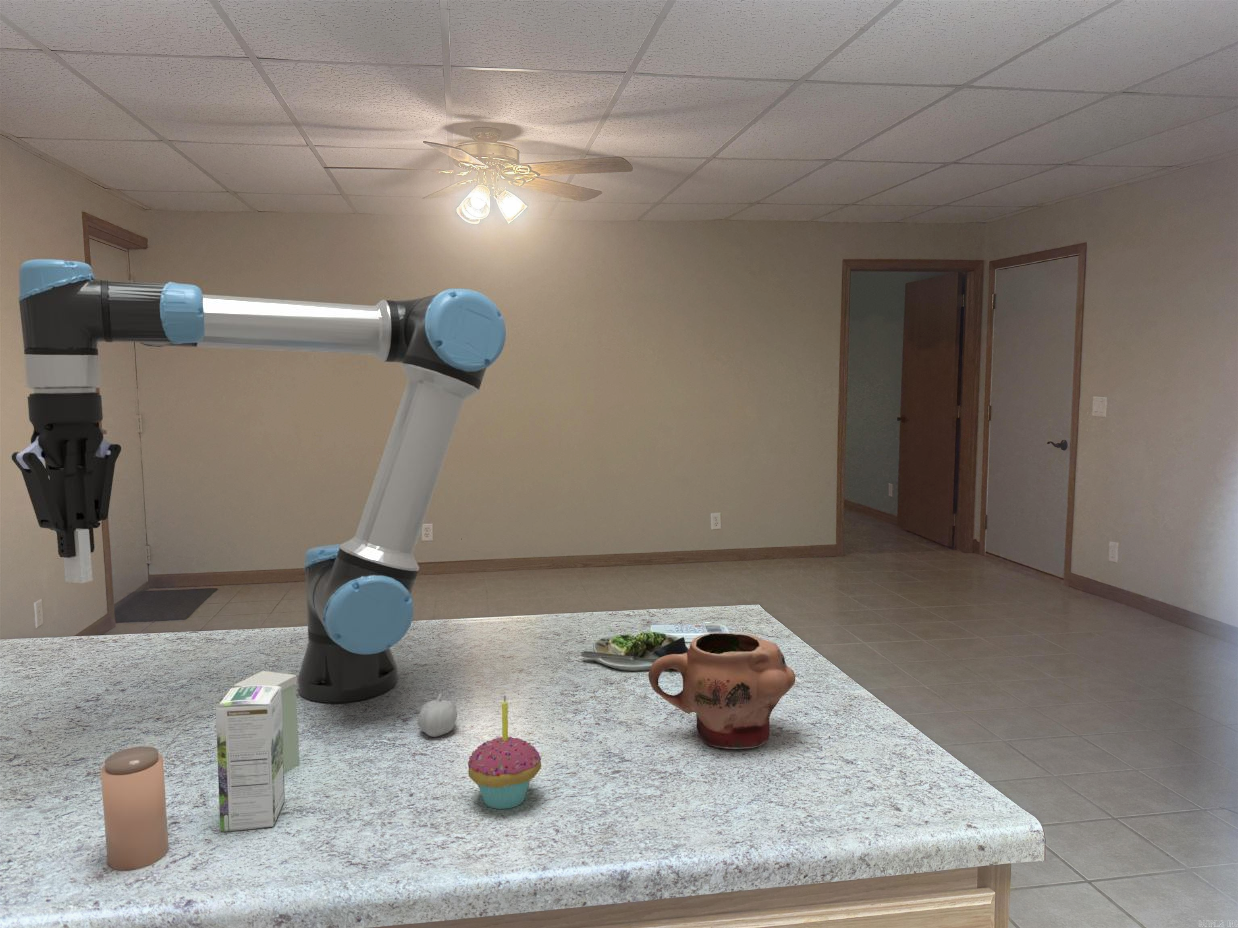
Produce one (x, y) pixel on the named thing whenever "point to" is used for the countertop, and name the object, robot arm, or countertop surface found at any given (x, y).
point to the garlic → (437, 717)
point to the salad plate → (635, 650)
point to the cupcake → (504, 767)
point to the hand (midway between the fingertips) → (79, 580)
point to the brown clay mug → (728, 686)
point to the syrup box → (250, 757)
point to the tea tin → (288, 711)
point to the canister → (134, 808)
